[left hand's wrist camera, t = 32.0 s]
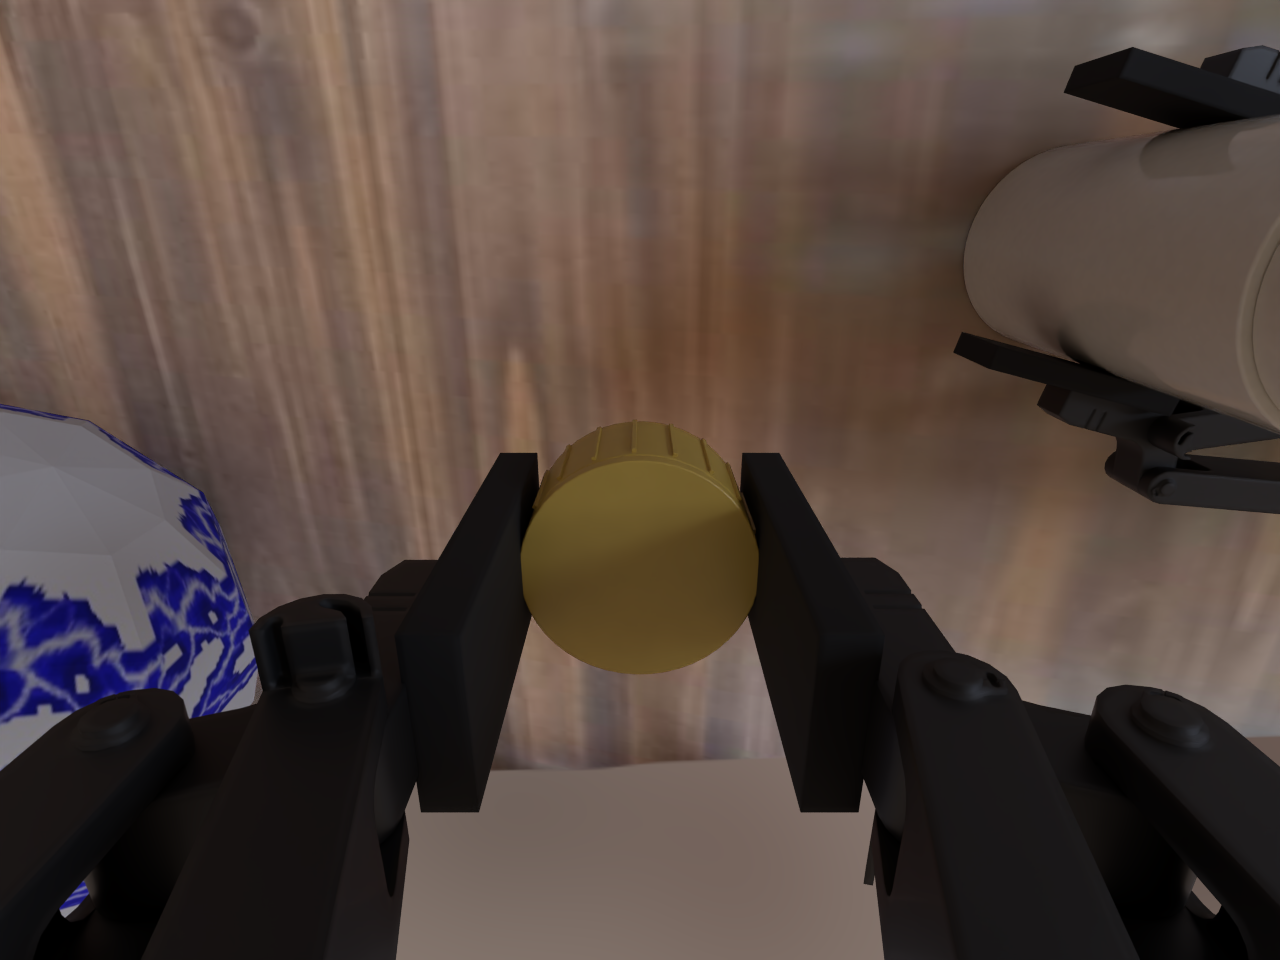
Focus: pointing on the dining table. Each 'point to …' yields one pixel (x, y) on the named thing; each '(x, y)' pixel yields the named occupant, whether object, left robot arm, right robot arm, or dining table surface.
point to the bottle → (1145, 261)
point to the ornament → (108, 583)
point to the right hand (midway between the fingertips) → (1031, 220)
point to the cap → (639, 550)
